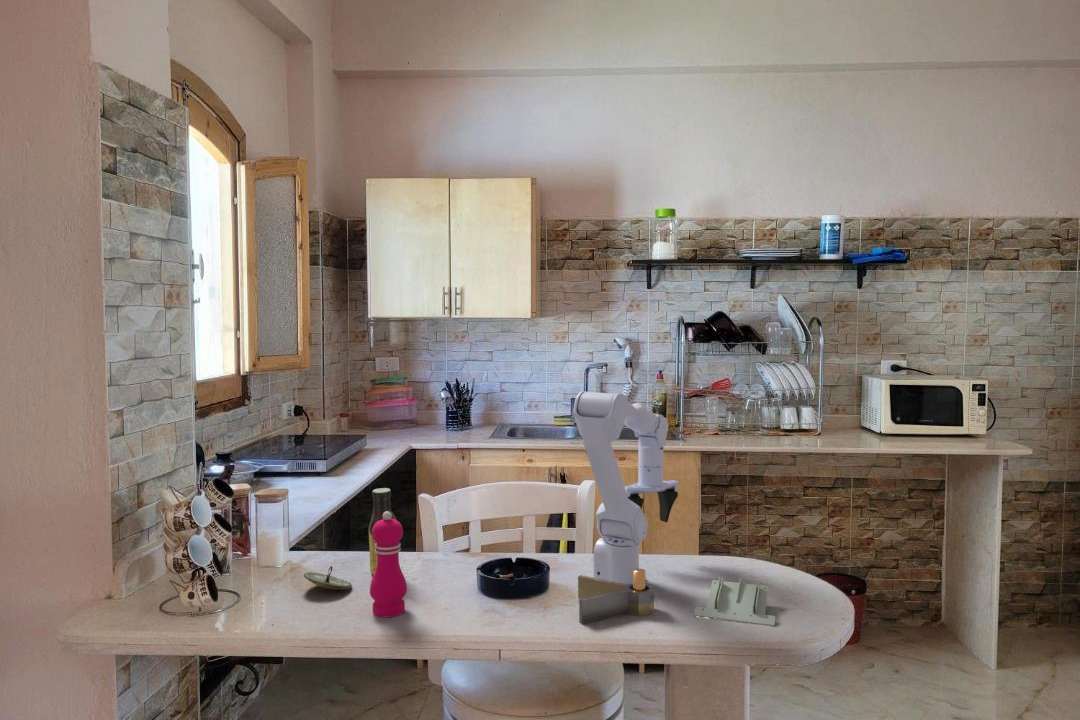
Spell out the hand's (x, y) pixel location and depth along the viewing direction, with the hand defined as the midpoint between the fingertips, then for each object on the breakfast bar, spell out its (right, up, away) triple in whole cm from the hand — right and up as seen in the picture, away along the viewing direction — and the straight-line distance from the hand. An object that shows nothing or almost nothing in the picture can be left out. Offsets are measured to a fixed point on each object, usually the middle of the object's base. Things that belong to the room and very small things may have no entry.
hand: (650, 523), depth 186 cm
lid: (-71, -11, -16) cm, 73 cm away
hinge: (-13, -12, -29) cm, 34 cm away
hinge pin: (-6, -12, -28) cm, 31 cm away
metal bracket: (+13, -12, -28) cm, 33 cm away
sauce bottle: (-60, -11, -9) cm, 62 cm away
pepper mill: (-55, -12, -28) cm, 63 cm away
